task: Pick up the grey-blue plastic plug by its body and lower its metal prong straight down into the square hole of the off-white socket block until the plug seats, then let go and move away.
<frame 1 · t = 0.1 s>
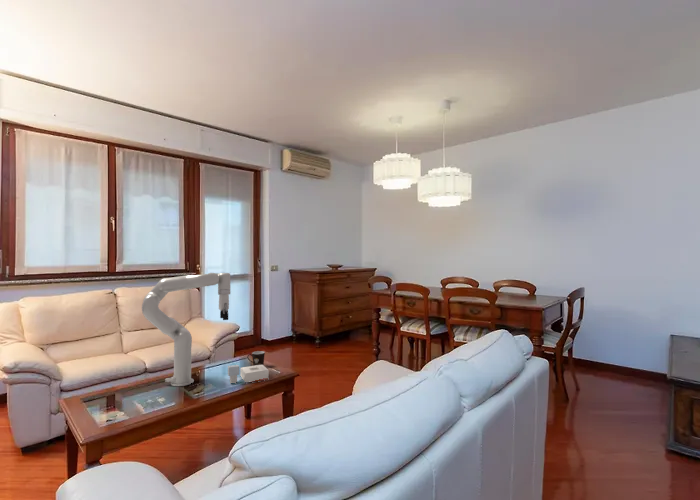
hand: (224, 318, 231), 37 cm above the table, tool pointing down, fingers open, 9 cm apart
socket: (254, 378, 226), on the table
coffee mug: (256, 367, 252), on the table
plug: (233, 382, 218), on the table
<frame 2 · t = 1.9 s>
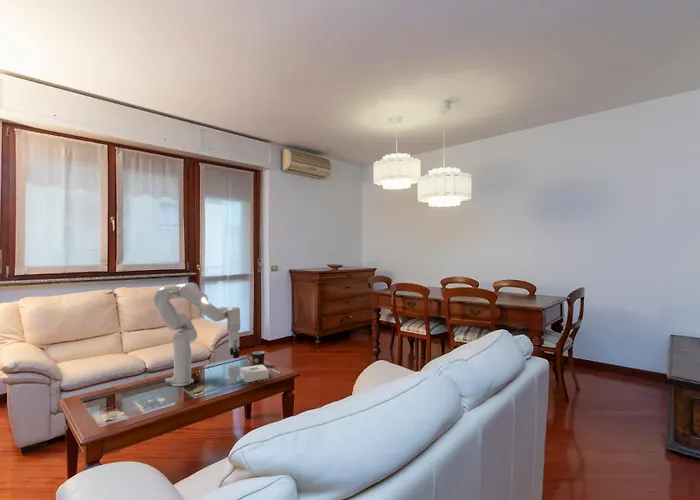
hand: (234, 356, 219), 16 cm above the table, tool pointing down, fingers open, 9 cm apart
nothing on the table moved.
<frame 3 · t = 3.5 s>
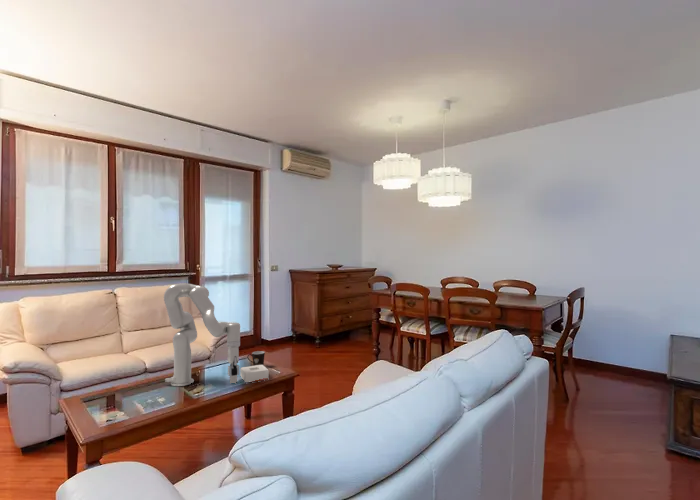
hand: (233, 373, 218), 5 cm above the table, tool pointing down, fingers closed on plug, 4 cm apart
plug: (233, 382, 218), on the table, touching gripper
everything else where it was.
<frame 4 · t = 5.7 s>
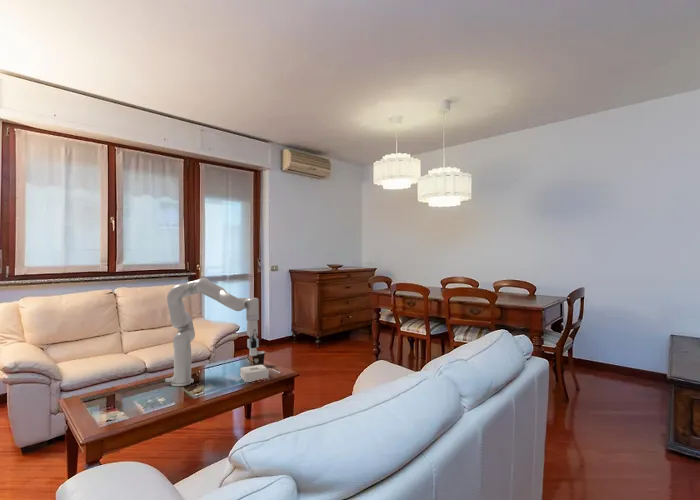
hand: (252, 346, 226), 20 cm above the table, tool pointing down, fingers closed on plug, 4 cm apart
plug: (253, 355, 226), point 15 cm above the table, touching gripper
everything else where it was.
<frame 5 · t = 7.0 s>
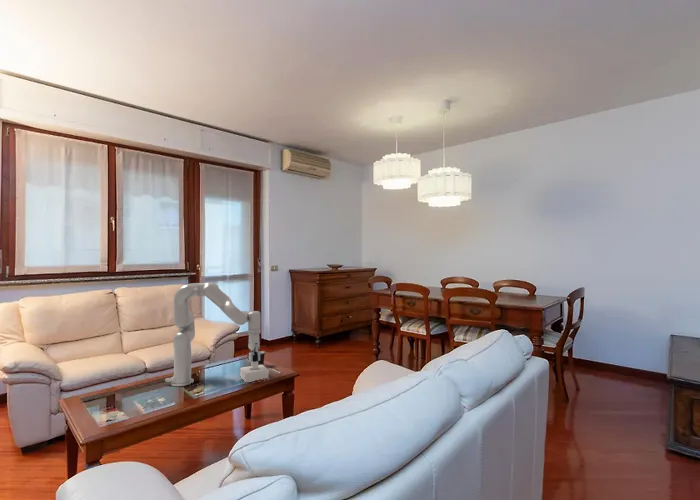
hand: (254, 360, 226), 11 cm above the table, tool pointing down, fingers closed on plug, 4 cm apart
plug: (254, 368, 226), point 6 cm above the table, touching gripper
everything else where it was.
when the fingers open (7 cm above the table, at t = 8.1 s): plug stays where it is, resting on socket.
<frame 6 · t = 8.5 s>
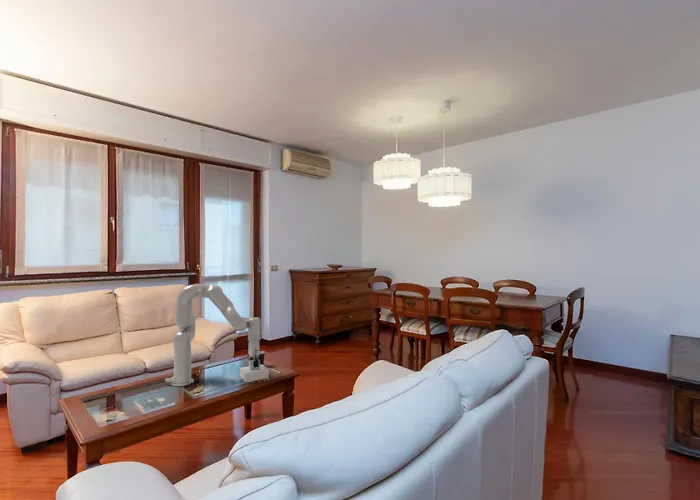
hand: (254, 365, 226), 8 cm above the table, tool pointing down, fingers open, 8 cm apart
plug: (254, 376, 226), point 1 cm above the table, touching socket
everything else where it was.
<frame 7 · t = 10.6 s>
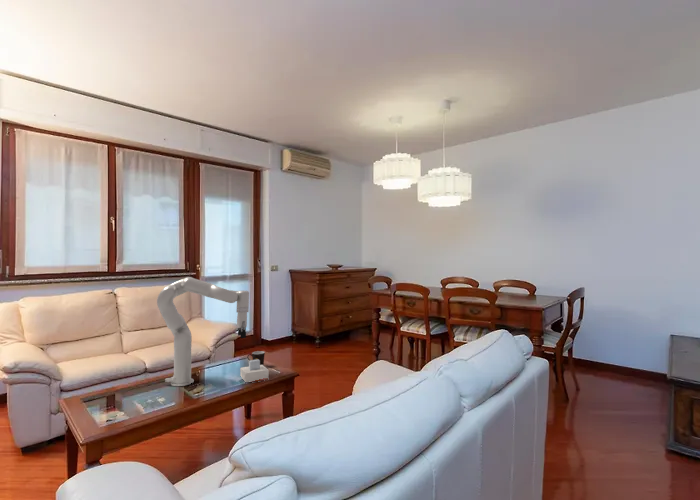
hand: (241, 336, 233), 25 cm above the table, tool pointing down, fingers open, 9 cm apart
nothing on the table moved.
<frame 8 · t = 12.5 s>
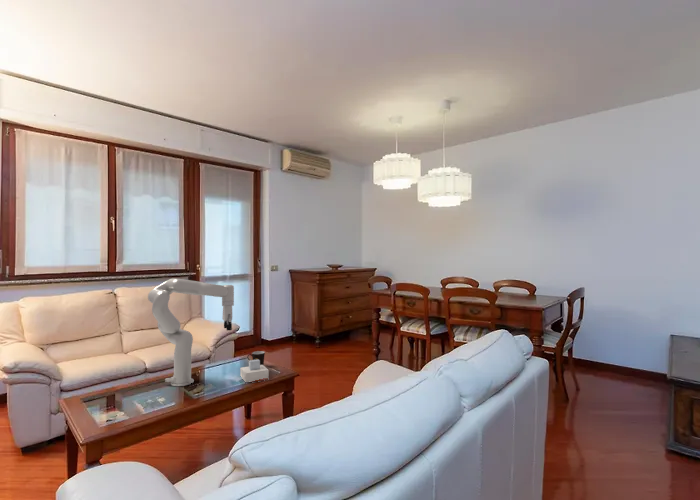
hand: (227, 329, 242), 28 cm above the table, tool pointing down, fingers open, 9 cm apart
nothing on the table moved.
at the end: plug 0.0 cm off-centre on the socket, point 1.0 cm above the socket's base; plug tilted 0°; the gripper is holding nothing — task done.
